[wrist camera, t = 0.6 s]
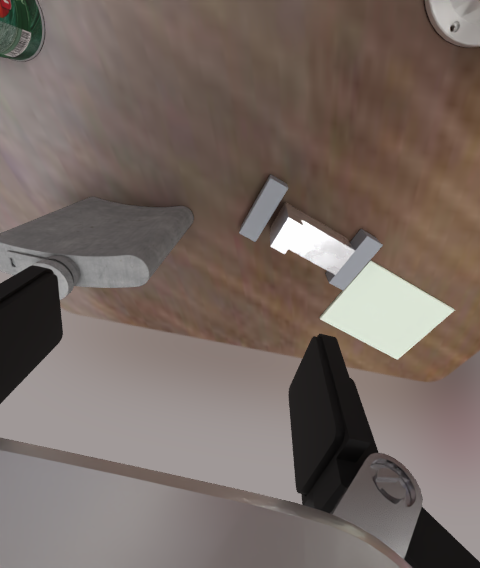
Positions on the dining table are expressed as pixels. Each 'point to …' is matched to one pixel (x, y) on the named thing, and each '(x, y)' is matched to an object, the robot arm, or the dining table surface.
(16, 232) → the hip flask
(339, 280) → the vise jaws
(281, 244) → the white pedestal stand
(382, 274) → the mat
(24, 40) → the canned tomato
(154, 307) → the dining table surface
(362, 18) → the dining table surface
